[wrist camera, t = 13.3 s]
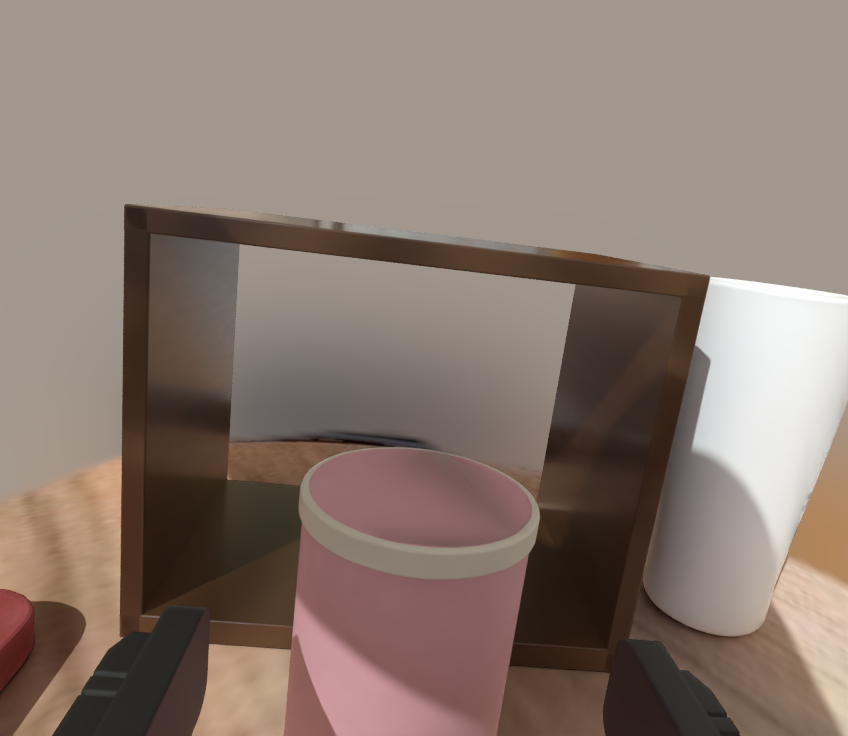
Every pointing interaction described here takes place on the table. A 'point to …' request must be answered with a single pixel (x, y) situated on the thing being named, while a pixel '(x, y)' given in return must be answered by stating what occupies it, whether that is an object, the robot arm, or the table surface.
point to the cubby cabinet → (278, 504)
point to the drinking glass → (746, 450)
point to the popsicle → (14, 633)
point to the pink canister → (406, 594)
